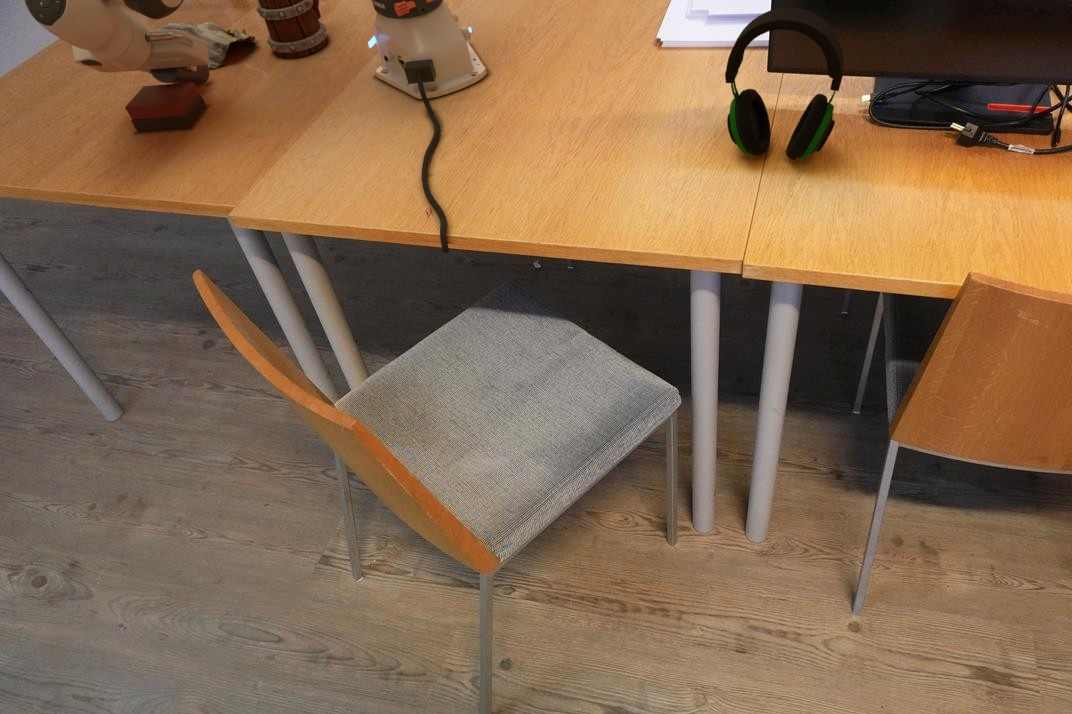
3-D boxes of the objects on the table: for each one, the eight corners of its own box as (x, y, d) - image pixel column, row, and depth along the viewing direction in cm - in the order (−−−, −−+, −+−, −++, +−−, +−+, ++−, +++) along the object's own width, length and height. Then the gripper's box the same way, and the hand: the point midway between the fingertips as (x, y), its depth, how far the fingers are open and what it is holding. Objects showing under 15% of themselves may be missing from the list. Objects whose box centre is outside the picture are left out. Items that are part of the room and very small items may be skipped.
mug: (255, 57, 153) (230, -28, 144) (303, 38, 163) (283, -43, 154) (302, 62, 150) (279, -24, 140) (348, 43, 160) (330, -39, 150)
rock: (225, 88, 153) (275, 46, 160) (210, 57, 147) (261, 14, 154) (139, 55, 159) (190, 15, 166) (121, 23, 153) (174, -16, 160)
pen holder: (212, 84, 148) (181, 81, 138) (185, 87, 148) (152, 83, 139) (205, 53, 146) (173, 47, 136) (178, 55, 146) (144, 50, 137)
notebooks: (190, 128, 137) (176, 103, 133) (137, 132, 138) (122, 107, 134) (207, 106, 142) (194, 81, 139) (156, 109, 143) (142, 85, 140)
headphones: (826, 175, 109) (846, 32, 94) (717, 164, 114) (720, 26, 99) (835, 140, 115) (856, 0, 100) (731, 131, 119) (736, -5, 104)
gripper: (178, 14, 126) (227, 46, 140) (62, 24, 128) (121, 55, 142) (181, 53, 126) (229, 82, 140) (65, 63, 128) (124, 90, 142)
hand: (174, 68), depth 141 cm, fingers closed on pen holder, 5 cm apart
